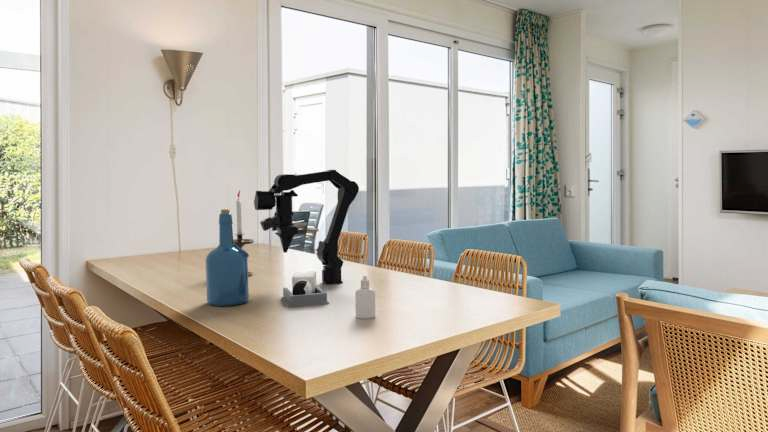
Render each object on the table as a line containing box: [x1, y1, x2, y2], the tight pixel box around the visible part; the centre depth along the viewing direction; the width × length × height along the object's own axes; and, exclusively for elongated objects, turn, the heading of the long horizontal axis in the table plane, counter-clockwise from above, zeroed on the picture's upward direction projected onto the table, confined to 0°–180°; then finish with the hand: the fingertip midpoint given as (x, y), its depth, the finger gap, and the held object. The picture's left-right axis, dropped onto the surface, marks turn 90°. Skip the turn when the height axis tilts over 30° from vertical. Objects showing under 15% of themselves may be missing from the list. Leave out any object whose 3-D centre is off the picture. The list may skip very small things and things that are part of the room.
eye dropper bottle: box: [354, 274, 376, 320], centre depth 157 cm, size 4×6×12 cm
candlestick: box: [233, 189, 254, 278], centre depth 226 cm, size 11×11×35 cm
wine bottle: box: [205, 208, 250, 307], centre depth 178 cm, size 14×13×30 cm
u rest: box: [281, 284, 330, 308], centre depth 179 cm, size 14×13×3 cm
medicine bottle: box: [291, 270, 317, 295], centre depth 182 cm, size 7×7×12 cm
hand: (285, 252), depth 201 cm, fingers closed
